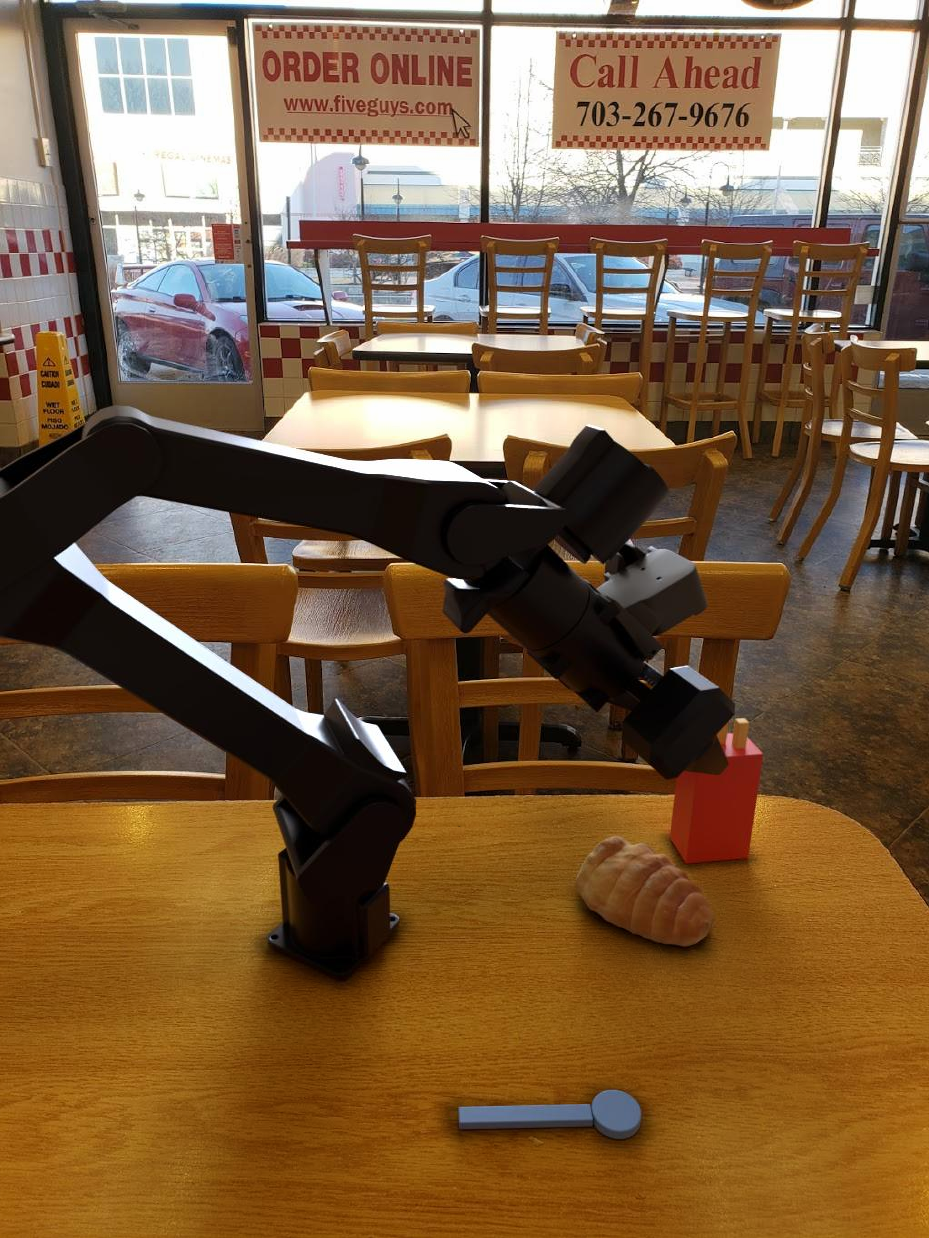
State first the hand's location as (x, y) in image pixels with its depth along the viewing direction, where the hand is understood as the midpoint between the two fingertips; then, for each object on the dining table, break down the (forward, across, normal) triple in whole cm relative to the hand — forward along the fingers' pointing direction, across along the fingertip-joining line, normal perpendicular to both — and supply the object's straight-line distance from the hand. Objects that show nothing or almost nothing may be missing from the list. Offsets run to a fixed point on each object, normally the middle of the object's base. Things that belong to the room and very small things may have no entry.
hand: (684, 738), depth 68 cm
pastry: (+4, -4, +11) cm, 12 cm away
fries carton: (+10, 0, +5) cm, 11 cm away
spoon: (-6, -18, +20) cm, 28 cm away
